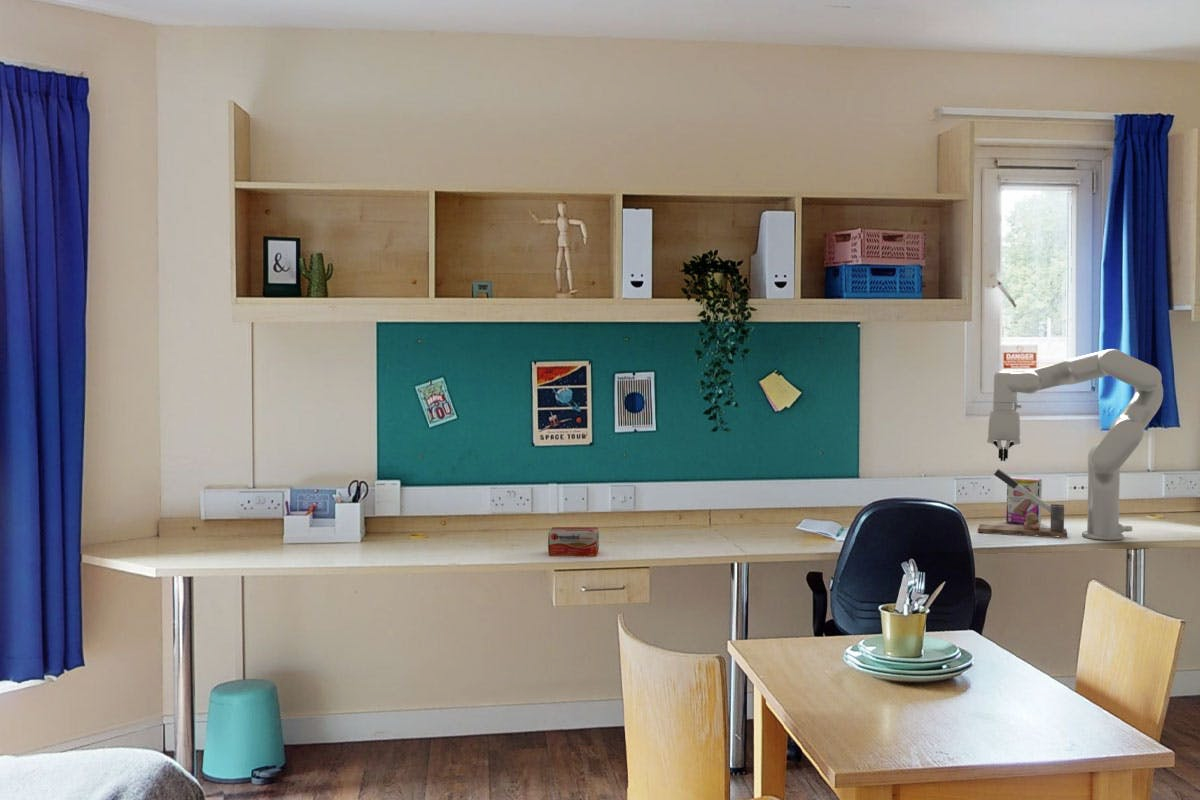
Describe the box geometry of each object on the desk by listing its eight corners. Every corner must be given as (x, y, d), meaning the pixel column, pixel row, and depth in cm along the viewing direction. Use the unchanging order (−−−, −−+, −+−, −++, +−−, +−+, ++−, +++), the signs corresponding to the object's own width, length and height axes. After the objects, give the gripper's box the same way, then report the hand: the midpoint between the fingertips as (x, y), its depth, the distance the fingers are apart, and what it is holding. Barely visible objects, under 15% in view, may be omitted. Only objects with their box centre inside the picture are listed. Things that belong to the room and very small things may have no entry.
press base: (1066, 533, 369) (1066, 504, 369) (1067, 537, 360) (1067, 508, 360) (979, 528, 380) (979, 500, 379) (978, 532, 370) (978, 503, 370)
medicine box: (548, 556, 331) (547, 531, 331) (551, 551, 339) (551, 526, 339) (597, 557, 330) (597, 531, 330) (599, 552, 338) (599, 527, 338)
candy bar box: (1005, 523, 391) (1006, 478, 390) (1008, 521, 395) (1009, 476, 394) (1038, 525, 385) (1039, 479, 384) (1041, 523, 389) (1042, 478, 388)
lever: (1057, 518, 367) (1062, 513, 367) (1058, 519, 364) (1062, 514, 363) (994, 473, 374) (998, 468, 373) (994, 474, 371) (998, 469, 370)
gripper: (1028, 407, 371) (1026, 460, 372) (982, 406, 376) (980, 458, 377) (1028, 408, 364) (1026, 462, 365) (981, 407, 369) (979, 460, 370)
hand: (1003, 460), depth 371 cm, fingers closed
